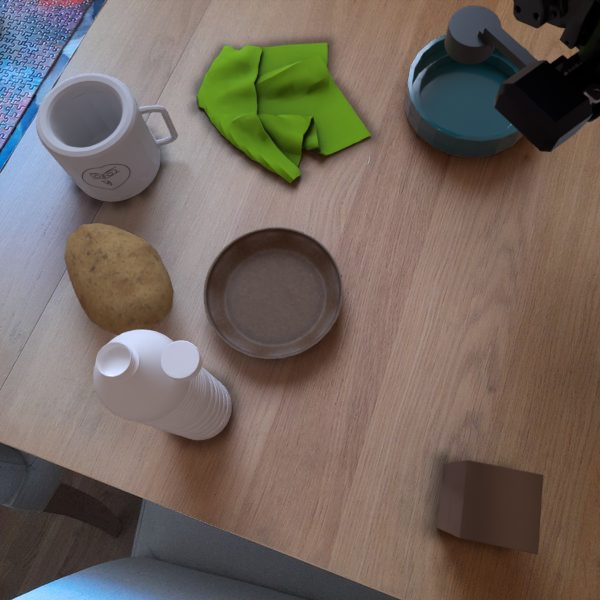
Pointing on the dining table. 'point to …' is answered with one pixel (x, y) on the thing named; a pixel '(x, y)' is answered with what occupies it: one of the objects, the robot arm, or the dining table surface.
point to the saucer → (273, 293)
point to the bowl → (459, 102)
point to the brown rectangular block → (491, 505)
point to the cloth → (279, 104)
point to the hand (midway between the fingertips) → (567, 121)
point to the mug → (101, 136)
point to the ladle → (481, 38)
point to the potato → (118, 278)
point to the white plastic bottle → (161, 385)
